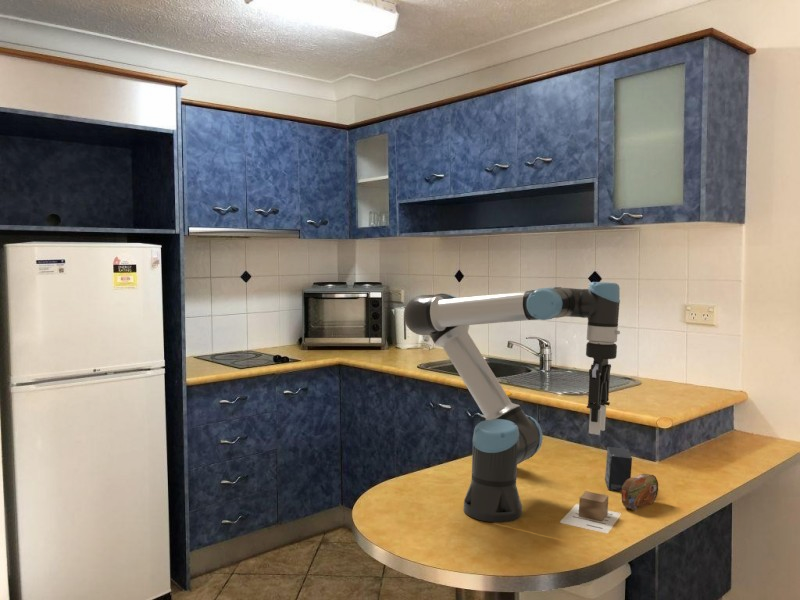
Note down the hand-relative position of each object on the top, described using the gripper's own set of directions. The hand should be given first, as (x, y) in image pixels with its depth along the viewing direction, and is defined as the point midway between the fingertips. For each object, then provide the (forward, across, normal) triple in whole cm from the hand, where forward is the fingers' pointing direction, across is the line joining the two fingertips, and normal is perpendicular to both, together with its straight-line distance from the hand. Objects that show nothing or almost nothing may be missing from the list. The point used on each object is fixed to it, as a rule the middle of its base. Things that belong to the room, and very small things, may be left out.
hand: (596, 431), depth 171 cm
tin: (+23, +16, -9) cm, 30 cm away
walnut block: (+22, +1, 0) cm, 23 cm away
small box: (+23, +30, 0) cm, 38 cm away
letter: (+23, -1, 0) cm, 23 cm away
